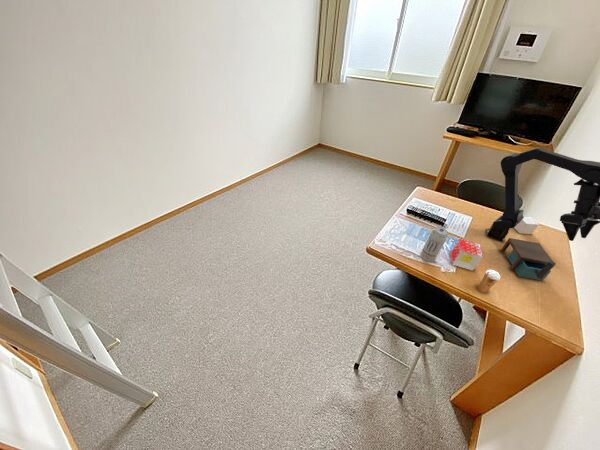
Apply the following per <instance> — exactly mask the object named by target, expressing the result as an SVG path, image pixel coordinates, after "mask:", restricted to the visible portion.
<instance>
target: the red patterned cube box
mask: <svg viewBox="0 0 600 450" xmlns="http://www.w3.org/2000/svg"><path fill="white" fill-rule="evenodd" d="M450 256H451V264H452V266H456V267H459V268H463V269H466V270H470V271H474V270H475V268H476V267H477V266H478V265H479V263H480V261H482V259H483V257H484V256H483V253H482V249H481V244H479V243H476V242H472V241H469V240H465V239H461V238H458V240H457V241H456V243H455V245H454V246H453V248H452V250H451V252H450Z"/></svg>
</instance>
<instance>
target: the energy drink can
mask: <svg viewBox="0 0 600 450" xmlns="http://www.w3.org/2000/svg"><path fill="white" fill-rule="evenodd" d="M448 233H449V231H448V230H447V229H446V228H445V227H443V226H436V227H434V228H433V229H432V230H431V231H430V233H429V235H428V237H427V239H426V241H425V243H424V245H423V247H422V249H421V251H420V253H419V255H420V259H421V260H422V261H424V262H425V263H433V262H435V261H436V259H437V257H438V256H439V254H440V252H441V250H442V248H443V247H444V245H445V243H446V241H447V239H448V237H449V235H448Z"/></svg>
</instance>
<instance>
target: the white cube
mask: <svg viewBox="0 0 600 450" xmlns="http://www.w3.org/2000/svg"><path fill="white" fill-rule="evenodd" d="M523 217H524V218H523V219H522V220H521V222H520V223H519V224H517V225H516V226H515V227H514V229H515V230H516V231H517V233H518V234H522V235H523V234H524V235H533V233H534V232H535V231H536V229H537V228H538V227H539V225H540V224H539V223H538V222H537V221H536V220H535V219H534V218H533V217H531V216H523Z"/></svg>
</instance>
